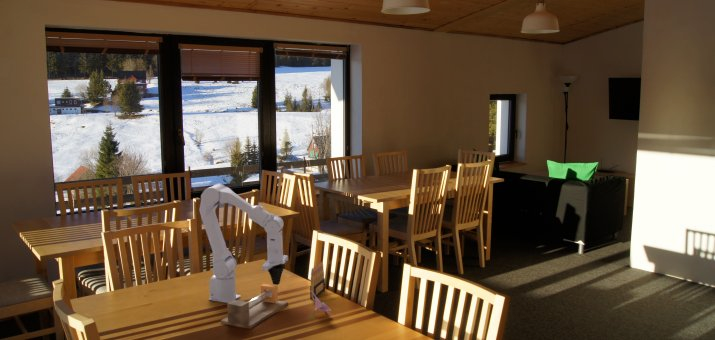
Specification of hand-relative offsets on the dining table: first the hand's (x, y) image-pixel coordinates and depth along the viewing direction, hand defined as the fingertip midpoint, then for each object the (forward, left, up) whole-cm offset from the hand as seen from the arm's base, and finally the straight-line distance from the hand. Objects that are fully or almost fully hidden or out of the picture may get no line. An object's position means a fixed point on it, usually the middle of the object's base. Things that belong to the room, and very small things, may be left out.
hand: (276, 284), depth 225 cm
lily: (+23, -7, -7) cm, 25 cm away
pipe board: (0, -14, -7) cm, 15 cm away
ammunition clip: (+11, +12, -7) cm, 18 cm away
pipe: (0, -13, -3) cm, 13 cm away
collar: (0, -5, -5) cm, 7 cm away
